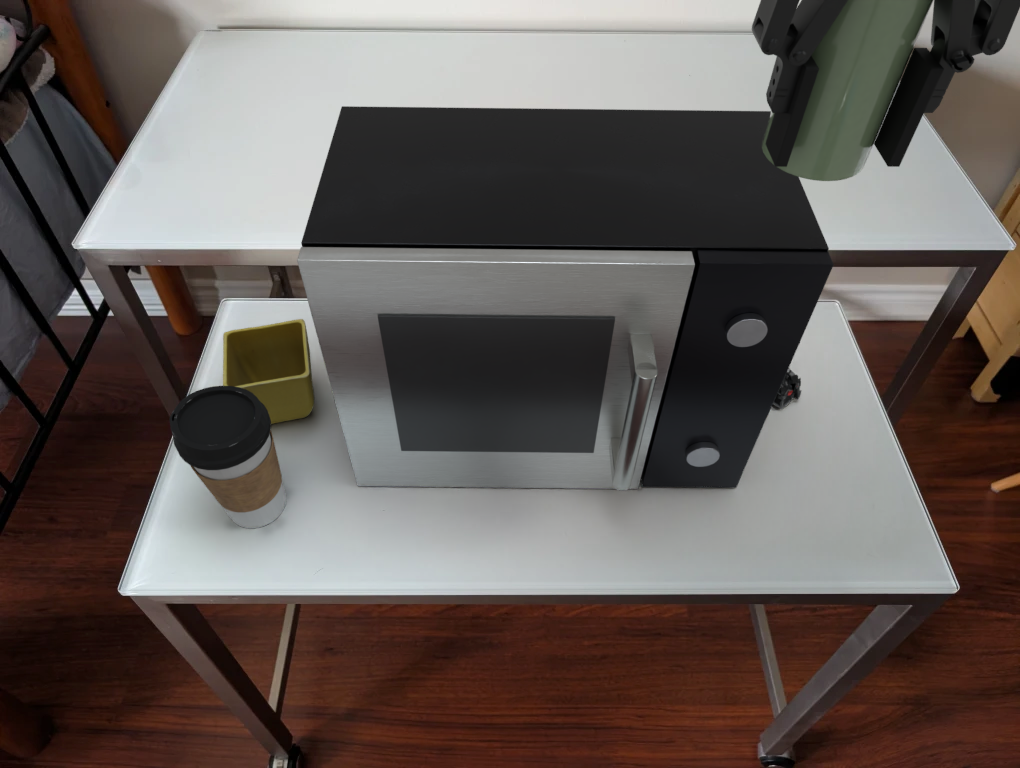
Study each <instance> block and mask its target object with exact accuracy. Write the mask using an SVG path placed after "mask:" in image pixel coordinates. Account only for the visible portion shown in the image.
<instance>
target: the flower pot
mask: <svg viewBox="0 0 1020 768" xmlns="http://www.w3.org/2000/svg"><path fill="white" fill-rule="evenodd" d="M222 386H235V387H240V388H243V389H246V390H248V391H250V392H252V393H253V394H254V395H255V396H256V397H257V398H258V399H259V401H260V402H262V403H263V404H264V405H265V407H266V409H267V410H268V413H269V416H270V419H271V425H273V424H279V423H283V422H289V421H294V420H300V419H304V418H306V417H307V418H308V416H309V415H310V414H311V412H312V411H313V409H314V405H315V394H314V384H313V374H312V361H311V350H310V344H309V337H308V331H307V325H306V321H305V320H304V319H303V318H300V319H292V320H286V321H282V322H281V321H280V322H276V323H271V324H265V325H264V324H263V325H258V326H251V327H244V328H238V329H231V330H228V331H224V332H223V335H222Z"/></svg>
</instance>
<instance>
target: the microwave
mask: <svg viewBox="0 0 1020 768" xmlns="http://www.w3.org/2000/svg"><path fill="white" fill-rule="evenodd" d="M770 114H771V110H703V109H702V110H701V109H700V110H697V109H692V110H691V109H690V110H689V109H678V110H677V109H614V108H613V109H612V108H611V109H610V108H609V109H608V108H604V109H602V108H524V107H523V108H519V107H517V108H515V107H441V106H439V107H437V106H435V107H433V106H432V107H431V106H429V107H427V106H426V107H425V106H423V107H422V106H354V105H353V106H352V105H351V106H344V105H343V106H341V109H340V111H339V115H338V117H337V121H336V125H335V128H334V131H333V135H332V138H331V141H330V145H329V148H328V150H327V151H328V152H327V155H326V158H325V161H324V165H323V168H322V171H321V175H320V178H319V182H318V185H317V188H316V192H315V195H314V198H313V202H312V205H311V208H310V212H309V215H308V218H307V221H306V225H305V228H304V232H303V236H302V238H301V241H300V243H301V247H351V248H441V249H532V250H622V251H692V254H693V258H694V262H695V267H694V271H693V275H692V279H691V283H690V287H689V291H688V294H687V298H686V302H685V306H684V310H683V314H682V318H681V322H680V326H679V330H678V334H677V338H676V342H675V345H674V349H673V353H672V357H671V361H670V365H669V369H668V373H667V377H666V381H665V385H664V389H663V393H662V397H661V400H660V404H659V408H658V412H657V416H656V420H655V424H654V428H653V432H652V436H651V440H650V444H649V448H648V451H647V455H646V459H645V463H644V467H643V471H642V475H641V479H640V484H641V487H642V488H648V487H649V488H714V489H715V488H717V489H721V488H722V489H723V488H724V489H725V488H726V489H727V488H728V489H736V488H737V487H738V485H739V482H740V480H741V477H742V475H743V473H744V471H745V469H746V466H747V464H748V462H749V459H750V457H751V455H752V453H753V450H754V448H755V446H756V443H757V441H758V439H759V436H760V435H761V432H762V430H763V427H764V425H765V423H766V420H767V418H768V416H769V414H770V411H771V409H772V407H773V406H774V404H773V402H774V400H775V398H776V395H777V393H778V391H779V389H780V386H781V384H782V382H783V379H784V377H785V375H786V373H787V370H788V368H790V366H791V363H792V362H793V359H794V357H795V354H796V353H797V349H798V348H799V345H800V343H801V340H802V338H803V336H804V334H805V332H806V329H807V328H808V324H809V322H810V320H811V318H812V315H813V313H814V311H815V309H816V306H817V305H818V303H819V300H820V297H821V296H822V293H823V290H824V288H825V285H826V283H827V281H828V279H829V277H830V274H831V272H832V270H833V268H834V266H835V265H834V262H833V260H832V259H833V258H832V257H831V254H830V252H829V249H830V248H829V246H828V243H827V241H826V239H825V236H824V234H823V231H822V228H821V226H820V224H819V222H818V219H817V217H816V215H815V212H814V210H813V208H812V204H811V203H810V200H809V199H808V196H807V193H806V191H805V189H804V187H803V184H802V182H801V179H800V177H798V176H794V175H792V174H789V173H787V172H785V171H783V170H781V169H779V168H778V167H775V165H773V164H772V163H771V162H770V161H769V160H768V159H767V158H766V157H765V155H764V153H763V150H762V141H763V138H764V134H765V131H766V128H767V124H768V121H769V117H770ZM783 383H784V382H783Z"/></svg>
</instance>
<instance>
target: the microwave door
mask: <svg viewBox="0 0 1020 768" xmlns="http://www.w3.org/2000/svg"><path fill="white" fill-rule="evenodd" d="M296 263H297V266H298V270H299V274H300V277H301V281H302V285H303V289H304V292H305V295H306V299H307V304H308V307H309V311H310V315H311V318H312V321H313V326H314V330H315V332H316V336H317V340H318V343H319V347H320V348H319V349H320V351H321V356H322V358H323V362H324V367H325V370H326V374H327V378H328V381H329V385H330V388H331V392H332V395H333V399H334V403H335V408H336V411H337V414H338V415H337V416H338V418H339V421H340V425H341V429H342V433H343V437H344V441H345V445H346V448H347V453H348V455H349V460H350V462H351V467H352V471H353V473H354V478H355V481H356V485H357V487H406V488H407V487H411V488H412V487H413V488H414V487H415V488H416V487H417V488H418V487H419V488H500V489H501V488H502V489H503V488H505V489H507V488H509V489H511V488H512V489H513V488H514V489H515V488H516V489H521V488H522V489H596V490H597V489H601V490H602V489H606V490H618V491H621V492H622V491H627V490H638V489H639V487H640V484H641V475H642V471H643V467H644V463H645V459H646V455H647V451H648V448H649V444H650V440H651V436H652V432H653V428H654V424H655V420H656V416H657V412H658V408H659V404H660V400H661V397H662V393H663V389H664V385H665V381H666V377H667V373H668V369H669V365H670V361H671V357H672V353H673V349H674V345H675V342H676V338H677V334H678V330H679V326H680V322H681V318H682V314H683V310H684V306H685V302H686V298H687V294H688V291H689V287H690V283H691V279H692V275H693V271H694V267H695V262H694V258H693V254H692V251H622V250H532V249H441V248H351V247H302V246H301V247H300V249H299V253H298V255H297V258H296Z"/></svg>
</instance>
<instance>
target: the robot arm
mask: <svg viewBox="0 0 1020 768" xmlns="http://www.w3.org/2000/svg"><path fill="white" fill-rule="evenodd" d="M847 2H848V0H801V1H800V0H760V2H759V4H758V8H757V10H756V13H755V16H754V19H753V22H752V24H751V32H752V35H753V37H754V39H755V41H756V42H757V44H758V46H759V49H760V50H761V52H762V53H763V54H764V55H766V56H773V55H774V56H776V58H775V61H774V64H773V69H772V72H771V75H770V79H769V82H768V86H767V89H766V93H765V94H766V95H765V97H766V102H767V104H768V107H769V109H770V111H772V113H774V117H773V120H772V123H771V127H770V130H769V133H768V137H767V140H766V143H765V144H766V147H767V149H768V151H769V153H770V156H771V158H772V160H773V163H774V165H775V167H787V165H788V162H789V158H790V155H791V152H792V149H793V146H794V143H795V140H796V137H797V134H798V131H799V128H800V125H801V122H802V119H803V116H804V113H805V110H806V107H807V104H808V101H809V98H810V95H811V92H812V89H813V86H814V83H815V80H816V77H817V74H818V71H819V68H818V66H817V64H816V63H815V61H814V59H813V58H812V56H811V55H812V54H813V52H814V51H815V49H816V48H817V46H818V45H819V43H820V42H821V40H822V39H823V37H824V36H825V34H826V33H827V31H828V30H829V28H830V27H831V25H832V24H833V22H834V21H835V19H836V18H837V16H838V15H839V13H840V12H841V10H842V9H843V7H844V6H845V5H846V3H847ZM932 8H933V9H932V21H931V22H932V23H931V34H930V35H931V36H930V44H931V49H930V50H929V49H928V48H927V47H914V48H913V51H912V53H911V55H910V58H909V60H908V63H907V65H906V68H905V70H904V72H903V75H902V77H901V80H900V82H899V84H898V87H897V89H896V92H895V94H894V96H893V99H892V101H891V104H890V106H889V108H888V111H887V113H886V116H885V118H884V120H883V123H882V125H881V128H880V130H879V132H878V135H877V137H876V140H875V142H874V144H873V146H874V147H875V148H876V150H877V152H878V154H879V155H880V156H881V158H882V160H883V161H884V163H885V165H886V166H887V167H888V168H889V167H891V168H893V167H896V168H897V167H898V168H900V166H901V164H902V162H903V160H904V157H905V155H906V153H907V151H908V149H909V146H910V145H911V142H912V140H913V138H914V135H915V133H916V131H917V129H918V127H919V125H920V122H921V120H922V118H923V116H924V114H933V113H934V112H935V111H936V110H937V109H938V108H939V106H940V105H941V103H942V101H943V99H944V96H945V94H946V92H947V90H948V89H949V87H950V84H951V82H952V79H953V77H954V75H955V73H957V74H959V73H963V72H966V71H968V70H969V69H970V68H971V67H972V66H973V64H974V63H975V59H976V58H974V57H973V56H976V55H980V54H984V55H986V56H993V55H996V54H998V53H999V52H1000V51H1001V50H1002V49H1003V48H1004V47H1005V45H1006V43H1007V41H1008V38H1009V35H1010V33H1011V30H1012V28H1013V25H1014V24H1015V21H1016V18H1017V15H1018V13H1019V11H1020V0H933V7H932Z"/></svg>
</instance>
